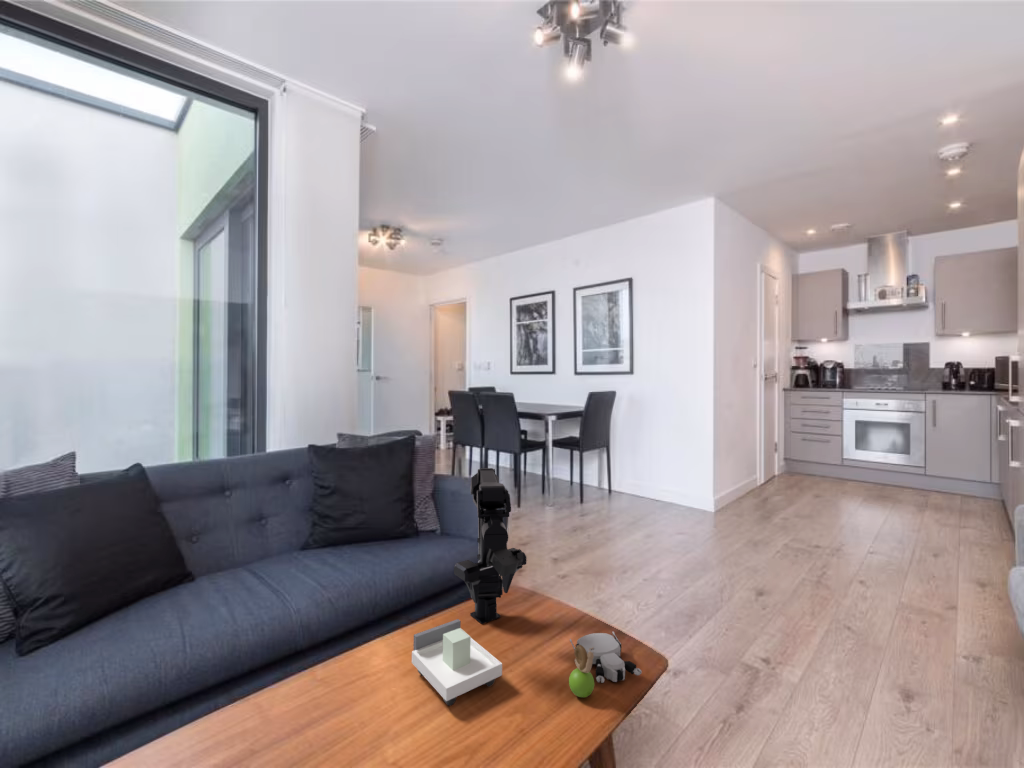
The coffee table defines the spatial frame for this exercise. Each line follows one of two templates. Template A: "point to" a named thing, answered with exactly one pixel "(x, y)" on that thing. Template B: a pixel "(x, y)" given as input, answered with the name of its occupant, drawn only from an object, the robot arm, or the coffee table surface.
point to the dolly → (441, 675)
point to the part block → (456, 648)
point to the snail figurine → (582, 673)
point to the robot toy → (607, 656)
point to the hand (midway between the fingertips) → (491, 597)
